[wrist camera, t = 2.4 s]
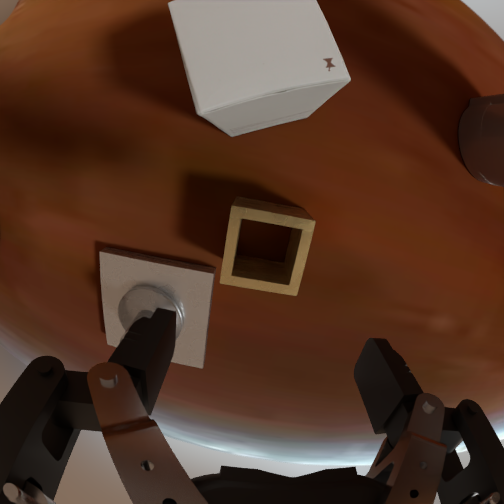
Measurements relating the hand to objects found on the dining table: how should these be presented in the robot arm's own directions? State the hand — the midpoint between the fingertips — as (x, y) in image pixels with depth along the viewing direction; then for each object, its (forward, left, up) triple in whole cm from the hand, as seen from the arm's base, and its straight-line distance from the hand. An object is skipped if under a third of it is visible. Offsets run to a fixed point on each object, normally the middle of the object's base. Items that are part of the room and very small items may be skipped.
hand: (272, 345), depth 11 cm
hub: (0, 0, -16) cm, 16 cm away
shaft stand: (+10, -10, -16) cm, 21 cm away
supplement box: (-13, -3, -16) cm, 21 cm away
